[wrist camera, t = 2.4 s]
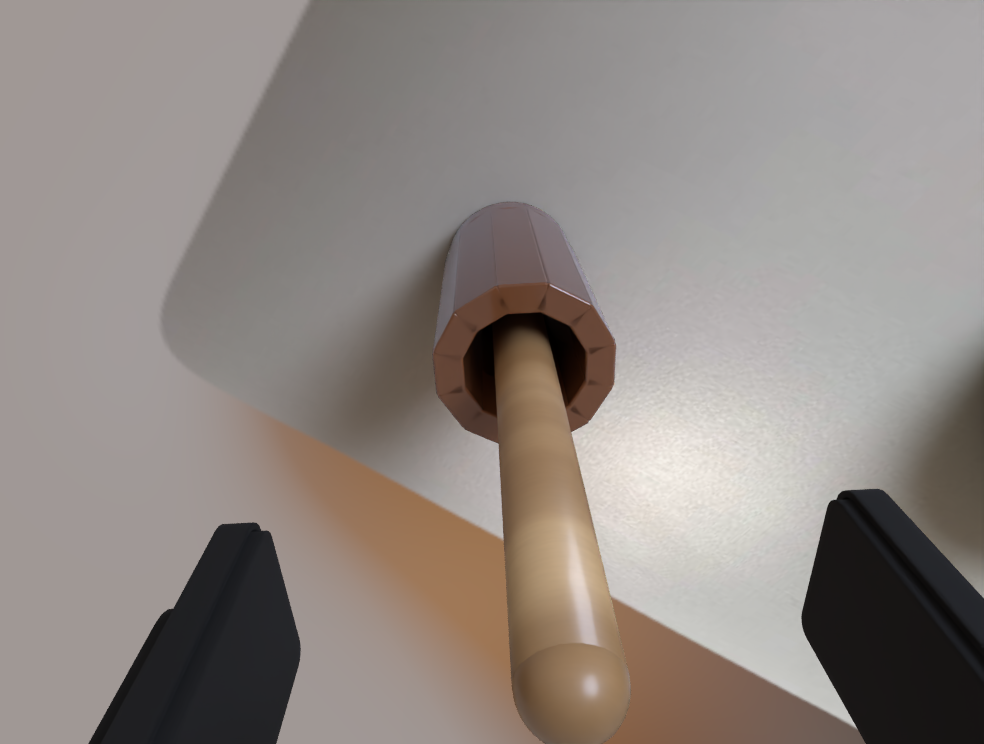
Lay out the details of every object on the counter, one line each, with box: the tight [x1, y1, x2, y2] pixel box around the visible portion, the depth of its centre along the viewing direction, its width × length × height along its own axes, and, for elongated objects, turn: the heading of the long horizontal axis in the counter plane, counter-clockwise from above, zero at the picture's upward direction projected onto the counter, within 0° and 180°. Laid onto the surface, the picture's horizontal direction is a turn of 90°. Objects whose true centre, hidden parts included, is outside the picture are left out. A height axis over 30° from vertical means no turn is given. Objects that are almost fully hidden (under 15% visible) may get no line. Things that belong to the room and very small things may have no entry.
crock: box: [432, 202, 616, 444], centre depth 21 cm, size 5×5×9 cm
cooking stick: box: [492, 312, 631, 744], centre depth 16 cm, size 2×2×18 cm
